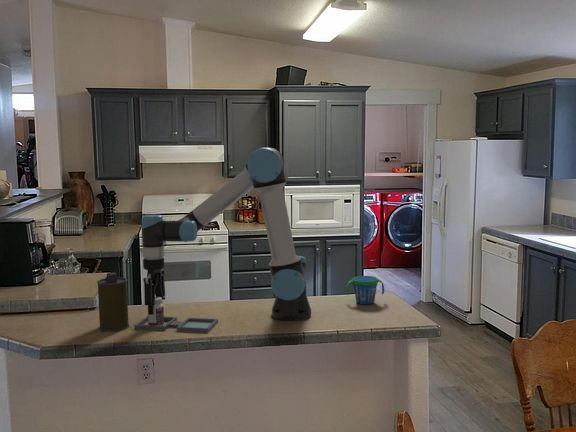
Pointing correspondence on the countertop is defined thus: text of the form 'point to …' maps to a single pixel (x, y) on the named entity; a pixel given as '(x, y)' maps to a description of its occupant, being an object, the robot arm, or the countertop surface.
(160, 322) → the pill bottle
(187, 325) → the double square frame
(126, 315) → the canister
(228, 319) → the countertop surface
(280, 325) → the countertop surface
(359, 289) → the snack cup
